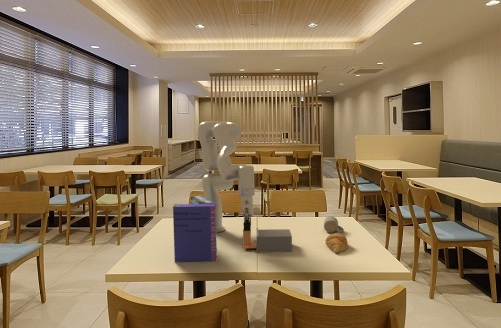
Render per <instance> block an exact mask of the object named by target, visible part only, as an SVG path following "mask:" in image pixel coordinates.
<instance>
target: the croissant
mask: <svg viewBox="0 0 501 328" xmlns="http://www.w3.org/2000/svg"><path fill="white" fill-rule="evenodd" d="M324 241H325V245H326V246H327V247H328V248H329V249H330V250H331V251H333V253H335V254H338V253H341V252H344V251H346V250H347V249H348V248H349V247H348V246H349V242H348V239H347V237H346V236H345V234H342V233H340V232H333V233H330V234H329V235H327V237H326V238H325V240H324Z"/></svg>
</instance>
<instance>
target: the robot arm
mask: <svg viewBox="0 0 501 328" xmlns="http://www.w3.org/2000/svg"><path fill="white" fill-rule="evenodd" d="M197 136H198V137H197V138H198V140H199V142H200V146H201V155H202V156H201V157H202V166H203V169H204V170H205V171H207V172H216V173H208V174H204V175H203V177H202V179H201V186H202V190H203V198H204V199H206V200H208V201H210V202H213V204H216V234H217V233H221V232H225V230H226V227H225V226H223V220H222V219H223V216H222V215H223V213H222V212H223V211H222V209H223V208H222V196H221V195H220V193H218V191H224V190H225V191H226V190H229V189H232V188H233V186H234V181H238V182H237V184H238V185H237V186H238V196H239V197H241V198H240V199H241V214H242V217H243V229H244V231H252V218H253V217H254V199H253V198H254V196H255V194H256V193H255V191H256V190H255V168H254V166H253V165H251V164H250V165H249V164H246V163H239V164H237V163H236V164H232V158H231V157H230V155H231V154H233V153H234V152H235V151H236V150H237V144H236V142H235V140H238V139H239V138H240V137H241V128H240V126H239V125H238V123H235V122H230V121H212V120H210V121H203V122H201V123H200V124H199V125H198V126H197ZM213 138H215V140H214V139H213ZM218 149H219V152H218ZM217 171H218V172H217Z"/></svg>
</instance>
